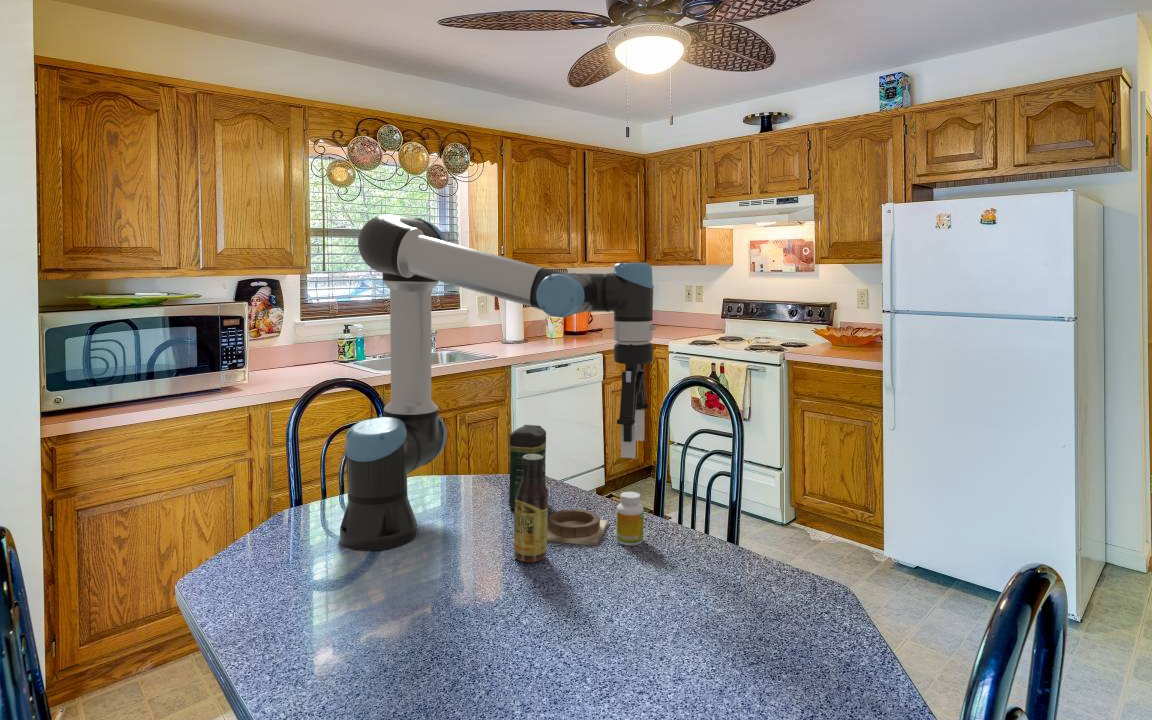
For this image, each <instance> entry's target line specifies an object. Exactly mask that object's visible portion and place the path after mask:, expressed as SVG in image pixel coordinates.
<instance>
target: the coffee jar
mask: <svg viewBox="0 0 1152 720" xmlns="http://www.w3.org/2000/svg"><path fill="white" fill-rule="evenodd" d="M508 441H509V442H508V443H509V445H508V446H509V486H508V488H509V491H508V506H509V508H510V509H514V510H515V498H516V495H517V492H518V489H519V486H520V483H521V480H522V476H523V465H522V457H523V456H524V455H526V454H539V455H542V456H543V457H544V464H543V468H542V476H543V478H542V479H543V483H544V485H545V486H546V453H547V450H546V449H547V431H546V429H544V428H543V427H542V426H541V425H534V424H524V425H523V426H521V427H519V428H516V429H515V430H513V431H512V432H511V433H510V434H509V440H508Z"/></svg>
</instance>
